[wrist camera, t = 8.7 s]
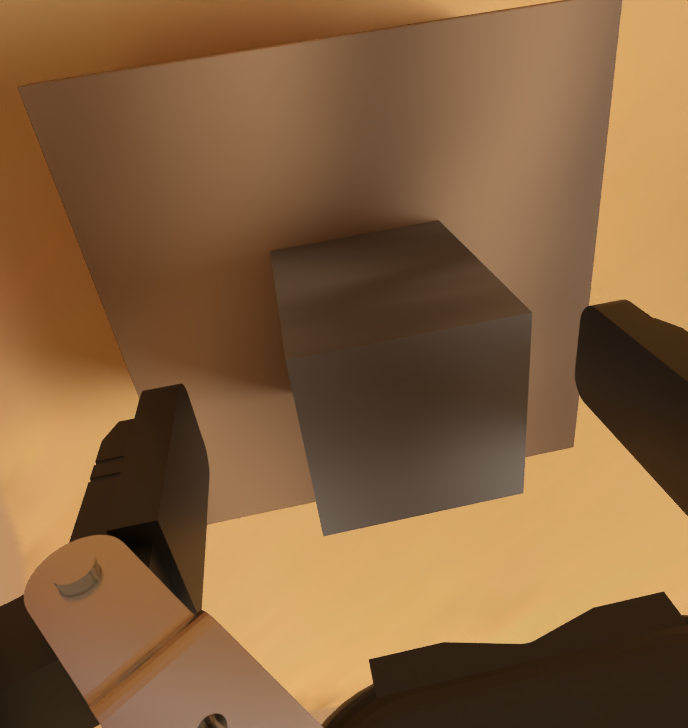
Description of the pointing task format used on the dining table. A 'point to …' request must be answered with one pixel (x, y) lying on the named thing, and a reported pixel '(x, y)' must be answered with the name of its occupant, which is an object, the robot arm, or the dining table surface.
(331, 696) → the dining table surface
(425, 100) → the lid
